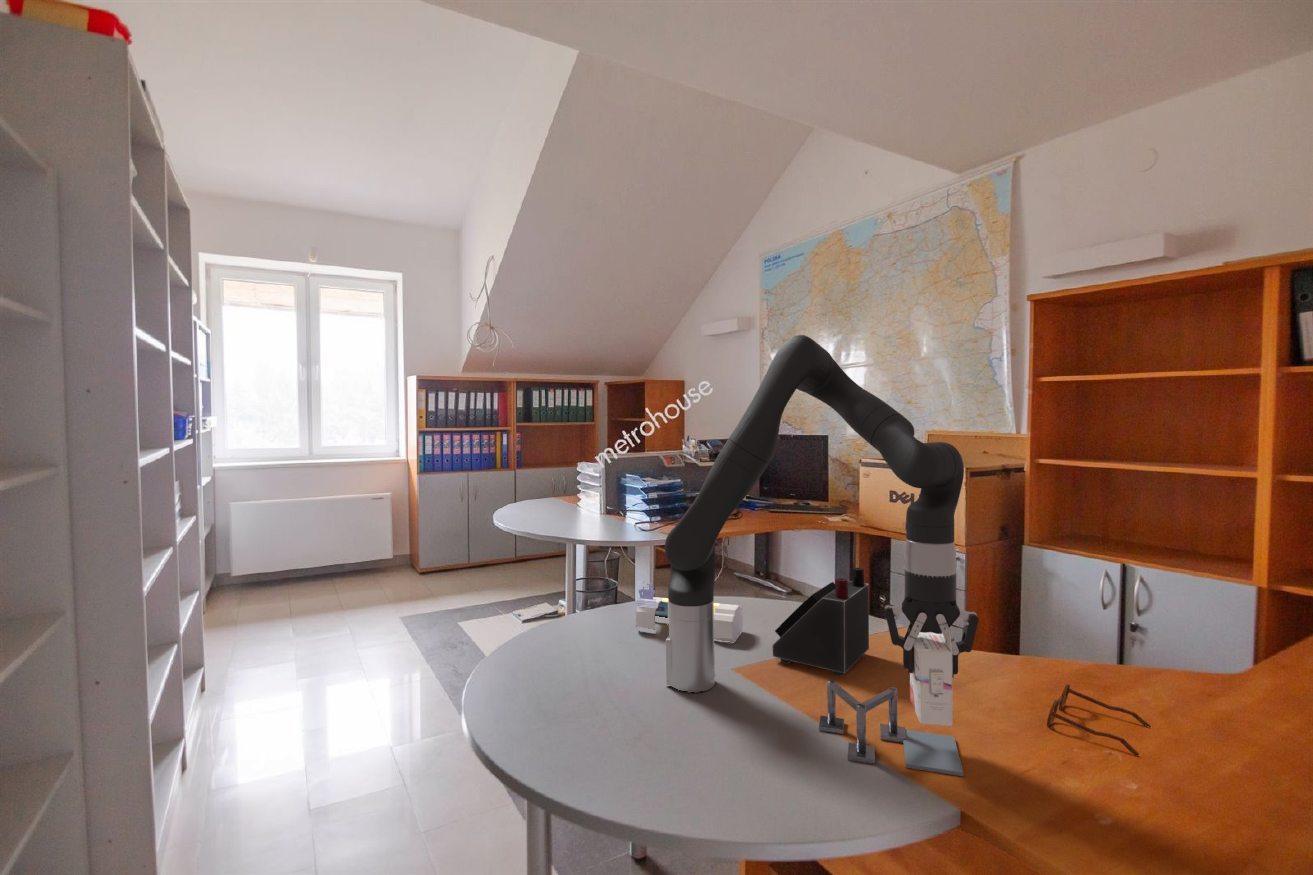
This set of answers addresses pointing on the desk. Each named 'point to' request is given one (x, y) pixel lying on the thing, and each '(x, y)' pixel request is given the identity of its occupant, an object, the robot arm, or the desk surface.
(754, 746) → the desk surface
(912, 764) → the pad
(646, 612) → the diorama
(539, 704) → the desk surface
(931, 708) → the ink cartridge box
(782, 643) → the voltmeter
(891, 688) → the grey metal legged frame
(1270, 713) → the desk surface
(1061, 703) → the glasses
